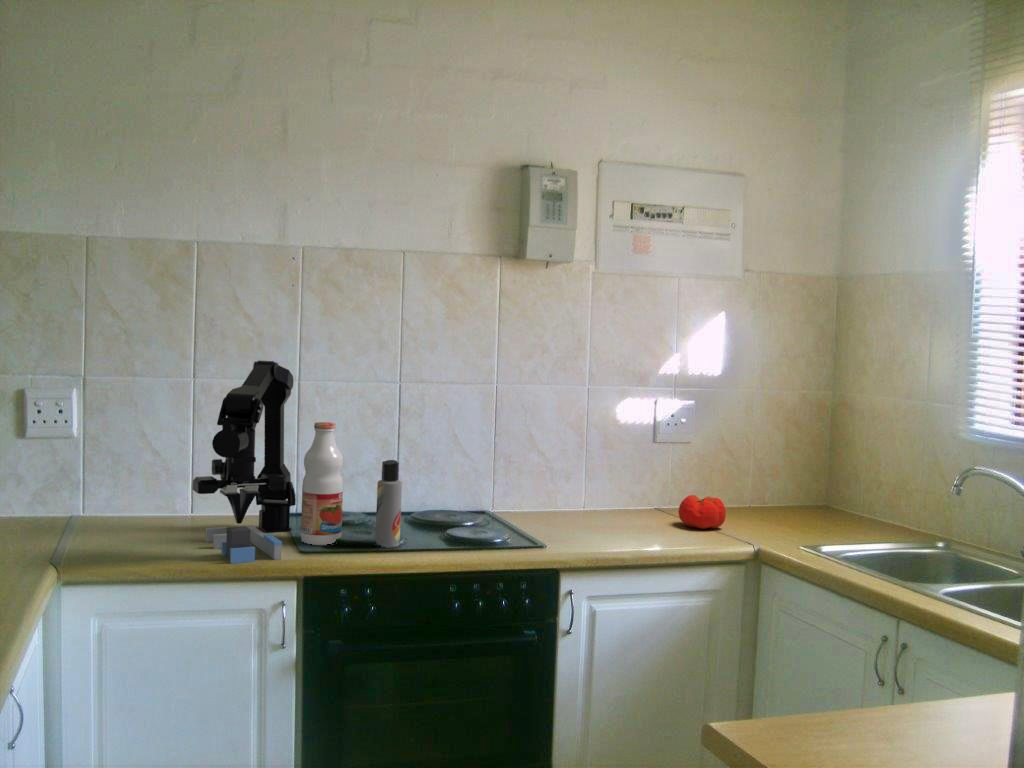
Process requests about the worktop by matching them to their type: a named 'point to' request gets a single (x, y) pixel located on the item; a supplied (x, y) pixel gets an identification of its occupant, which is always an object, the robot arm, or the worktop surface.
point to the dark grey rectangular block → (237, 538)
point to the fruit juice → (322, 488)
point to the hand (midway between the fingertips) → (238, 523)
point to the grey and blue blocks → (245, 554)
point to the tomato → (702, 512)
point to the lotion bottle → (388, 506)
